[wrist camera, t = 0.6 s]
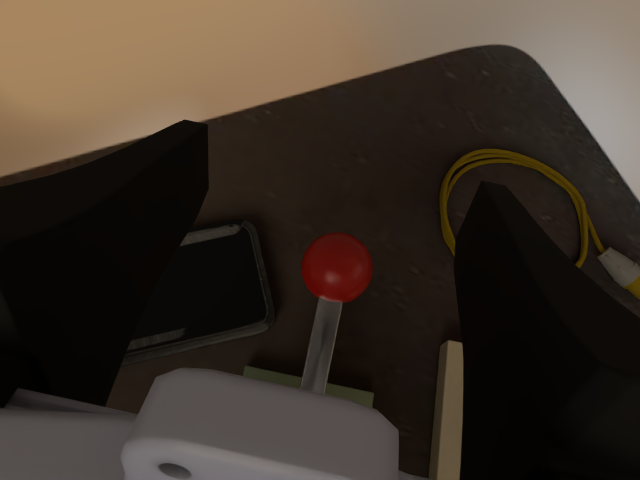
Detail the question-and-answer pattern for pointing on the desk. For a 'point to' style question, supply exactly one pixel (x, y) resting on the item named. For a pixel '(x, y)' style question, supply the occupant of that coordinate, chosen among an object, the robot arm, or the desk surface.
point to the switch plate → (448, 414)
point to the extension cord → (614, 262)
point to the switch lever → (331, 297)
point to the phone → (206, 294)
